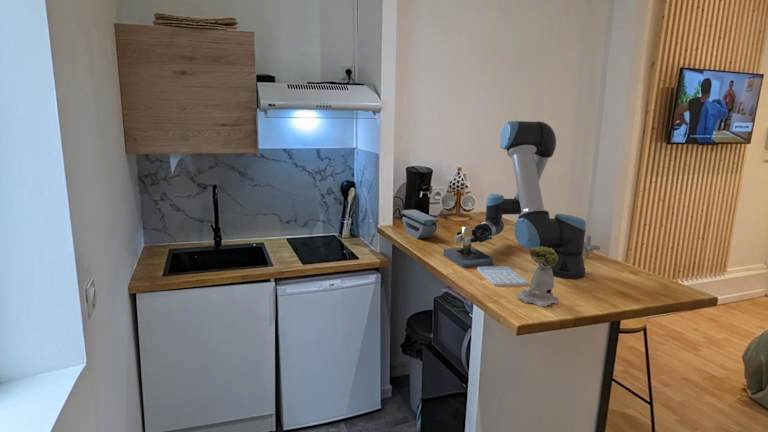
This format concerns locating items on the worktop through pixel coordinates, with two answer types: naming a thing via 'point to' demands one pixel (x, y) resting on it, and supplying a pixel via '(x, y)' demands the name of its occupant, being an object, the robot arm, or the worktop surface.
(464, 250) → the brushed metal cylinder
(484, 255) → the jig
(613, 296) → the worktop surface
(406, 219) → the grey boxy piece
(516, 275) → the calculator
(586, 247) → the pipe connector
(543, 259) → the mossy stone tower
